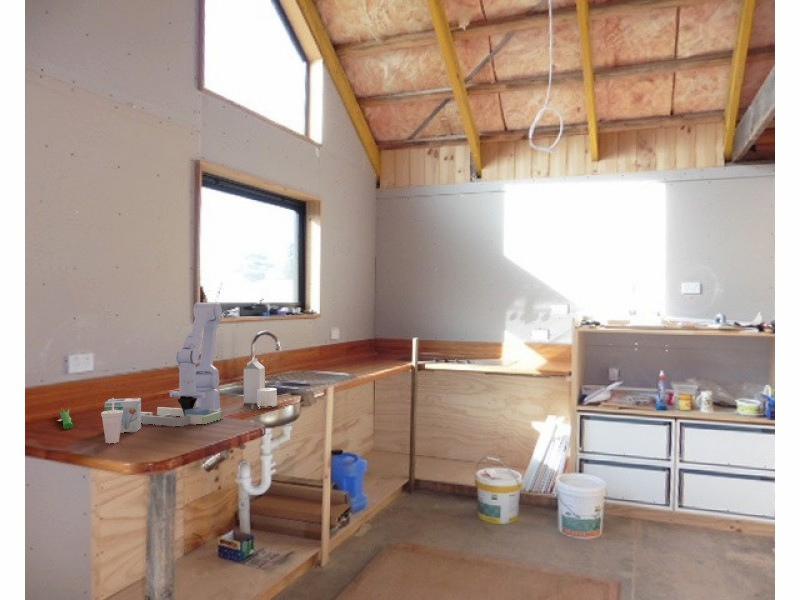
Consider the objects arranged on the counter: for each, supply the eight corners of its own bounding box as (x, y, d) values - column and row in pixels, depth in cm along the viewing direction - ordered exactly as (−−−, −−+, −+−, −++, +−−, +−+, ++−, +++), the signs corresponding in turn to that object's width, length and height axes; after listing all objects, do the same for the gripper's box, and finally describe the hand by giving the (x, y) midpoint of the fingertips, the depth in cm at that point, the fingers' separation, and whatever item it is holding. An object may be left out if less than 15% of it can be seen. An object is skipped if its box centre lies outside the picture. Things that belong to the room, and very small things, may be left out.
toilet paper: (259, 409, 239) (259, 392, 239) (256, 404, 250) (256, 388, 250) (279, 407, 242) (279, 391, 242) (275, 403, 253) (275, 387, 253)
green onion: (74, 431, 204) (68, 412, 229) (74, 422, 204) (68, 404, 229) (58, 433, 202) (54, 414, 227) (58, 423, 201) (54, 406, 226)
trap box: (159, 414, 228) (159, 406, 228) (222, 419, 219) (222, 410, 219) (128, 422, 213) (128, 413, 213) (195, 428, 204) (195, 418, 204)
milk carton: (265, 401, 258) (264, 358, 258) (259, 403, 251) (259, 359, 251) (249, 400, 259) (249, 358, 259) (243, 403, 252) (243, 359, 252)
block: (196, 419, 219) (196, 407, 219) (208, 420, 217) (208, 408, 217) (184, 422, 214) (184, 410, 214) (196, 423, 211) (196, 411, 211)
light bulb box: (103, 434, 195) (103, 402, 195) (108, 430, 202) (108, 398, 202) (138, 432, 198) (138, 400, 198) (141, 428, 205) (141, 397, 205)
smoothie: (127, 439, 187) (126, 396, 187) (118, 444, 181) (117, 399, 181) (106, 440, 187) (106, 396, 187) (97, 445, 181) (96, 400, 181)
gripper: (164, 381, 216) (164, 417, 216) (196, 382, 211) (197, 420, 211) (176, 378, 223) (177, 414, 223) (209, 380, 218) (209, 416, 218)
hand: (187, 416), depth 218 cm, fingers closed
